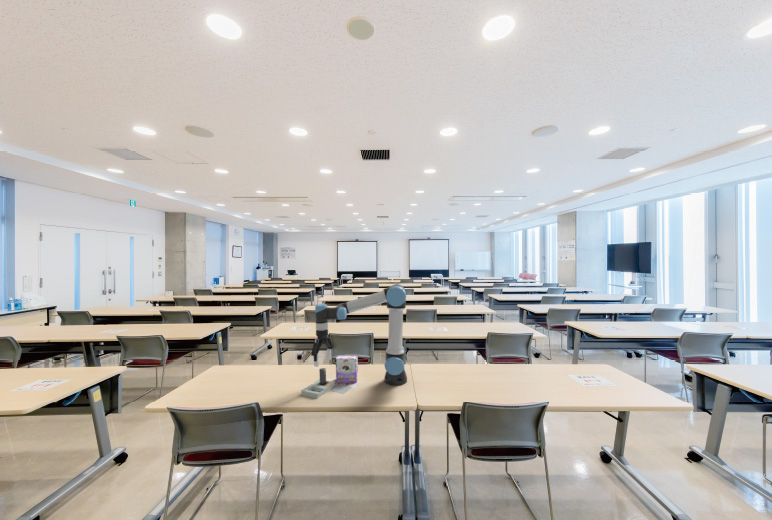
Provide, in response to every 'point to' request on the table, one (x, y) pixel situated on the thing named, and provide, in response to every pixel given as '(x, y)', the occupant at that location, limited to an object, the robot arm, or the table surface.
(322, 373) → the plug
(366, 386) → the table surface
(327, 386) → the port box
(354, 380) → the candy box
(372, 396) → the table surface
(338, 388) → the mat
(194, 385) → the table surface
